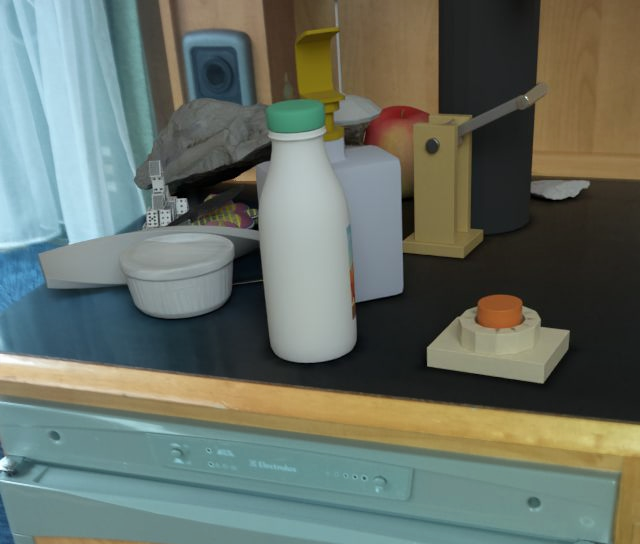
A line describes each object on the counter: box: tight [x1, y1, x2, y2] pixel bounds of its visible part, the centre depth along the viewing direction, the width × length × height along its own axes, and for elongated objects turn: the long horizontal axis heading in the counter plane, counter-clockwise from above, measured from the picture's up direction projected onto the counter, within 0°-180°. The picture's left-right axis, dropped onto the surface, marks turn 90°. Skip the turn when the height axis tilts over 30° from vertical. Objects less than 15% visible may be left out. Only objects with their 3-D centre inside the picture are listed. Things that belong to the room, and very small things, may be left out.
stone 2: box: [530, 179, 591, 201], centre depth 119 cm, size 6×8×2 cm
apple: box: [363, 105, 431, 200], centre depth 121 cm, size 10×10×10 cm
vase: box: [437, 0, 542, 236], centre depth 105 cm, size 10×10×30 cm
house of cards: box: [141, 161, 192, 230], centre depth 117 cm, size 9×9×8 cm
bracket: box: [402, 113, 484, 259], centre depth 105 cm, size 7×6×13 cm
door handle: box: [37, 224, 260, 290], centre depth 104 cm, size 26×5×5 cm
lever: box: [445, 81, 549, 145], centre depth 99 cm, size 12×6×2 cm, turn 63°
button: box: [477, 294, 523, 329], centre depth 82 cm, size 4×4×2 cm
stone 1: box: [133, 97, 272, 193], centre depth 122 cm, size 15×28×10 cm, turn 50°
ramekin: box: [119, 233, 235, 320], centre depth 98 cm, size 11×11×5 cm
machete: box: [165, 185, 245, 227], centre depth 113 cm, size 15×3×1 cm, turn 113°
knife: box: [232, 276, 263, 286], centre depth 104 cm, size 10×2×1 cm, turn 96°
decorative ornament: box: [177, 193, 259, 230], centre depth 115 cm, size 17×2×10 cm
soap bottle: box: [255, 26, 404, 304], centre depth 91 cm, size 12×7×23 cm, turn 109°
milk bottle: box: [257, 98, 358, 364], centre depth 83 cm, size 8×8×20 cm
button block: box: [426, 305, 571, 384], centre depth 84 cm, size 10×7×4 cm
